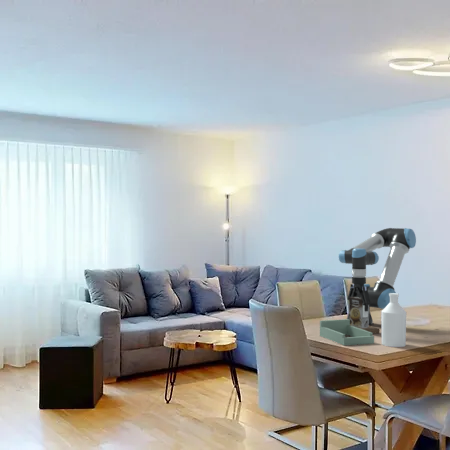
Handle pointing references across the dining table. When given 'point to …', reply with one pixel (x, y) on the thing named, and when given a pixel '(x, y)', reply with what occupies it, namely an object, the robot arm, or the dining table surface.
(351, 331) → the frame
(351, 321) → the coffee box
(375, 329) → the board
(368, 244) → the robot arm
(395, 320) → the bottle
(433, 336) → the dining table surface
